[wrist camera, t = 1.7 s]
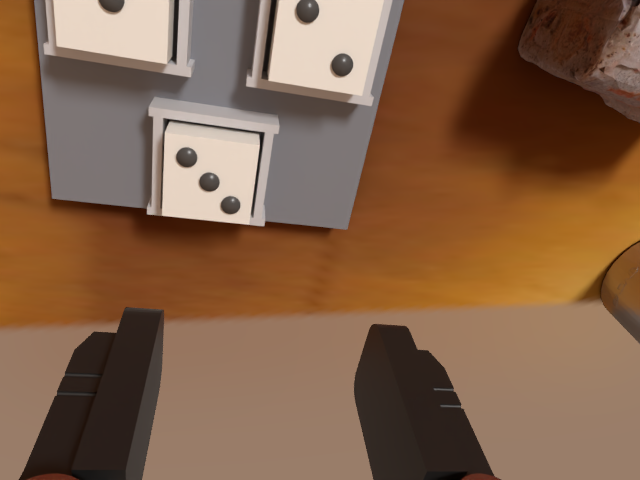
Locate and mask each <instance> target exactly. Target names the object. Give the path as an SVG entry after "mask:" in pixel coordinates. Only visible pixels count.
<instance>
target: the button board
mask: <svg viewBox="0 0 640 480" xmlns="http://www.w3.org/2000/svg"><path fill="white" fill-rule="evenodd" d="M276 1H277V0H174V24H173V50H172V57H171V59H170V60H169V62H168V63H167V64H163V63H157V62H150V61H144V60H138V59H132V58H126V57H120V56H114V55H107V54H101V53H95V52H89V51H83V50H77V49H71V48H64V47H58V46H57V44H56V30H55V17H54V3H53V0H34V5H35V16H36V27H37V38H38V49H39V60H40V71H41V82H42V93H43V104H44V115H45V126H46V137H47V148H48V159H49V170H50V181H51V192H52V199H60V200H69V201H79V202H89V203H98V204H108V205H117V206H127V207H136V208H146V209H147V214H148V215H158V216H162V202H163V171H164V141H165V131H166V128H167V126H168V124H169V121H176V122H183V123H190V124H197V125H205V126H212V127H219V128H226V129H233V130H240V131H247V132H254V133H259V140H260V148H259V155H258V163H257V170H256V178H255V185H254V192H253V200H252V207H251V215H250V222H249V225H256V226H264V225H265V221H270V222H279V223H289V224H298V225H308V226H317V227H327V228H337V229H346V230H347V228H348V224H349V220H350V216H351V212H352V208H353V204H354V200H355V196H356V192H357V188H358V184H359V180H360V176H361V172H362V168H363V164H364V160H365V156H366V152H367V148H368V144H369V140H370V136H371V132H372V128H373V124H374V120H375V115H376V111H377V107H378V103H379V99H380V95H381V91H382V87H383V83H384V79H385V75H386V71H387V67H388V63H389V59H390V55H391V51H392V47H393V43H394V39H395V35H396V31H397V27H398V23H399V19H400V15H401V11H402V7H403V3H404V0H384V3H383V7H382V12H381V16H380V20H379V25H378V29H377V33H376V38H375V42H374V46H373V51H372V55H371V59H370V64H369V68H368V72H367V77H366V81H365V85H364V90H363V94H362V96H359V95H353V94H347V93H341V92H334V91H328V90H322V89H316V88H310V87H304V86H298V85H292V84H285V83H279V82H273V81H268V74H267V69H268V61H269V54H270V46H271V39H272V31H273V23H274V16H275V8H276ZM168 217H170V216H168ZM178 218H180V217H178ZM187 219H190V218H187ZM197 220H199V219H197ZM207 221H209V220H207ZM217 222H219V221H217ZM226 223H229V222H226ZM236 224H238V223H236ZM246 225H248V224H246Z"/></svg>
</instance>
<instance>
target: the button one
mask: <svg viewBox="0 0 640 480" xmlns="http://www.w3.org/2000/svg"><path fill="white" fill-rule="evenodd" d="M53 3H54V17H55V30H56V44H57V46H58V47H64V48H71V49H77V50H83V51H89V52H95V53H101V54H107V55H114V56H120V57H126V58H132V59H138V60H144V61H150V62H157V63H163V64H167V63H168V62H169V60H170V59H171V57H172V50H173V24H174V0H53Z"/></svg>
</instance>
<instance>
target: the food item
mask: <svg viewBox="0 0 640 480" xmlns="http://www.w3.org/2000/svg"><path fill="white" fill-rule="evenodd" d="M518 51H519V53H520V56H521V57H522V58H523V59H524V60H526V61H528V62H532V63H534V64H536V65H538V66H539V67H540V68H541V69H543V70H545V71H547V72H548V73H550V74H552V75H554V76H556V77H559V78H562V79H565V80H567V81H569V82H571V83H574V84H577V85H579V86H581V87H582V88H583V89H585V90H588V91H592V92H595V93H596V94H599V95H600V96H601V97H602V98H603V100H604V102H605V104H606V105H608V106H610V107H612V108H614V109H615V110H617V111H618V112H620V113H622V114H623V115H625V116H626V117H627V118H628V119H632V120H634V121H637V122H639V123H640V0H537V2H536V4H535V6H534V8H533V11H532V13H531V15H530V17H529V20H528V22H527V24H526V26H525V29H524V31H523V33H522V36H521V39H520V42H519V46H518Z"/></svg>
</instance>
